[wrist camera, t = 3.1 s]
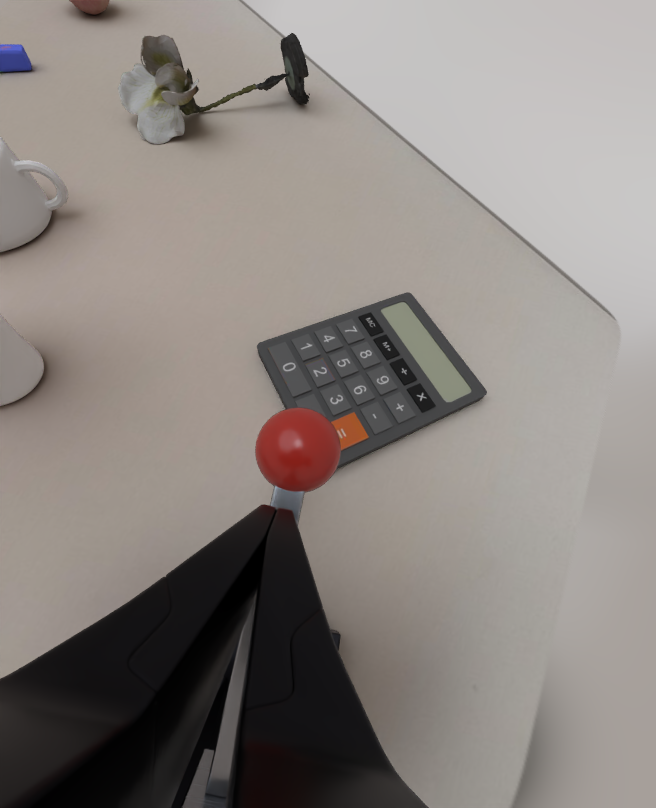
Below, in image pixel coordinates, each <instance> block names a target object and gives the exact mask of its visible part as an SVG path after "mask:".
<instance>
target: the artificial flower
mask: <svg viewBox="0 0 656 808" xmlns="http://www.w3.org/2000/svg"><path fill="white" fill-rule="evenodd" d="M281 51H282V55H283V60H284V65H285V73H286V74H281V75H278V76H271V77H270V78H267V79H266V81H265V82H263V83H260V84H258V85H255V84H253V85H251V86H247V87H246V88H243V89H242V91H239V92H236V93H232V94H230V95H227V96H226V97H223V99H221V100H220V101H217V102H216V103H213V104H210V105H208V106H206V107H199V106H197V105H196V103H195V100H194V98H193V96H194V95H195V94H196V93H197V91H198V90H199V89H198V87H197V84H198V81H199V79H197V80H196V81H195V83H193V81H192V75H191V72H190V71H189V69H188V70H187V74H186V73H185V71H184V68H183V65H182V61H181V57H180V54H179V51H178V48H177V46H176V44H175V42H174V40H173V38H170V37H169V36H166V35H161V36H159V37H153V36H145V37H144V38H143V39H142V46H141V62H142V56H143V61H144V63H145V65H143V62H142V64H135V65H134V69H133V70H132V72H125V73H123V74H122V76H121V83H120V85H119V87H118V90H119V95H120V98H121V102H122V104H123V106H124V108H125V109H126V110H127V111H129V112H130V113H132V114H137V115H138V123H137V128H138V130H139V132H140V133H141V135H142V136H143V137H144V138H145V139H146V140H147V141H148V142H150V143H152V144H163V143H165V142H168V141H169V140H170V139H171V138H172V137H175V136H181V135H183V134H184V129H185V127H184V120H183V118H182V114H181V112H180V110H181V111H182V112H183V113H184V114H186V115H189V114H191V113H198V112H204V111H207V110H210V109H211V108H213V107H217V106H218V105H220V104H223V103H226V102H227V101H229V100H230V99H232V98H234V97H235V96H238V95H242V94H244V93H248V92H250V91H252V90H253V89H259V90H262V89H264V90H266V91H267V90H268V89H271V88H272V87H273V86H275V85H276V84H277V83H278V82H279V81H280V80H282V79H283V78H284V77H286V78H285V81H286V85H287V87H288V91H289V93H290V95H291V96H292V97H294V98H295V99H296V100H297V101H298V102H299V103H300V104H307V102H308V101H309V100H308V98H309V96H308V95H306V93H305V91H304V78H305V77H307V76H308V75H309V74H308V69H307V65H306V59H305V56H304V53H303V50H302V47H301V45H300V42H299V40H298V38H297V37H296V35H295V34H293V33H291V34H290V35H288V36H287V37H286V38H283V39H282V40H281ZM309 95H310V94H309ZM141 135H140V136H141ZM142 136H141V138H142V139H143V140H145V139H144V138H143V137H142Z"/></svg>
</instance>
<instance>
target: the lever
mask: <svg viewBox="0 0 656 808" xmlns="http://www.w3.org/2000/svg"><path fill="white" fill-rule="evenodd" d="M255 453H256V460H257V464H258V467H259V469H260V471H261V473H262V474H263V476H264V477H265V478H266V479H267V481H268V482H269V483H271V484H272V485H273V486H274V489H273V494H272V498H271V503H270V506H273V507H276V509H278V508H283V509H288V510H292V511H293V513H294V516H295V520H296V523H297V526H298V522H299V518H300V513H301V508H302V503H303V498H304V493H305V492H310V491H313V490H315V489H317V488H319V487H321V486H322V485H324V484H325V483H326V482H327V481H328V480H329V479H330V478H331V477H332V475H333V474H334V472H335V471H336V469H337V466H338V464H339V460H340V455H341V444H340V439H339V435H338V433H337V431H336V429H335V427H334V426H333V424H332V423H331V422H330V421H329V420H328V419H327V418H326V417H325V416H324V415H322V414H321V413H319V412H317V411H315V410H312V409H308V408H302V407H295V408H289V409H285V410H283V411H280V412H278V413H277V414H275V415H274V416H272V417H271V418H270V419H269V420H268V421H267V422H266V423H265V424H264V426H263V427H262V429H261V430H260V433H259V435H258V438H257V441H256V449H255ZM256 596H257V594H256ZM255 602H256V597H255V600H254V602H253V605H252V608H251V610H250V612H249V615H248V617H247V620H246V622H245V625H244V627H243V630H242V632H241V635H240V640H239V644H238V648H237V653H236V657H235V662H234V666H233V670H232V675H231V679H230V684H229V688H228V693H227V697H226V701H225V706H224V710H223V715H222V719H221V723H220V728H219V732H218V737H217V741H216V746H215V750H211V749H204V750H203V752H202V754H201V756H200V759H199V761H198V764H197V766H196V769H195V771H194V774H193V776H192V779H191V781H190V784H189V786H188V789H187V792H186V794H185V797H184V799H183V802H182V804H181V807H180V808H225V802H226V796H227V789H228V782H229V776H230V769H231V762H232V755H233V749H234V742H235V735H236V729H237V722H238V715H239V709H240V702H241V695H242V689H243V682H244V675H245V669H246V662H247V655H248V648H249V642H250V635H251V628H252V622H253V615H254V608H255Z"/></svg>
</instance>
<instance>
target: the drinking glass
mask: <svg viewBox="0 0 656 808" xmlns="http://www.w3.org/2000/svg"><path fill="white" fill-rule="evenodd" d="M43 372H44V362H43V358H42V356H41V355H40V353H39V352H38V351H37V350H36V349H35V348H34V347H33V346H32V345H31V344H30V343H29V342H28V341H26V340H25V339H24V338H23V337H22V336H21V335H20V334H19V333H18V332H17V331H16V330H15V329H14V328H13V327H12V326H11V325H10V324H9V323H8V322H7V320H6V319H5V318H4V317H3V316H2V315H1V314H0V406H1V405H6V404H9V403H12V402H14V401H17V400H19V399H21V398H22V397H24V396H25V395H27V394H28V393H29V392H31V391H32V390H33V389H34V388H35V387H36V386H37V384H38V383H39V381H40V380H41V377H42V375H43Z"/></svg>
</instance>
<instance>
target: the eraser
mask: <svg viewBox="0 0 656 808" xmlns="http://www.w3.org/2000/svg"><path fill="white" fill-rule="evenodd" d="M23 70H31V62H30V60H29V58H28V56H27V54H26V52H25V50H24V48H23V46H22V45H0V72H11V71H23Z"/></svg>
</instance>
